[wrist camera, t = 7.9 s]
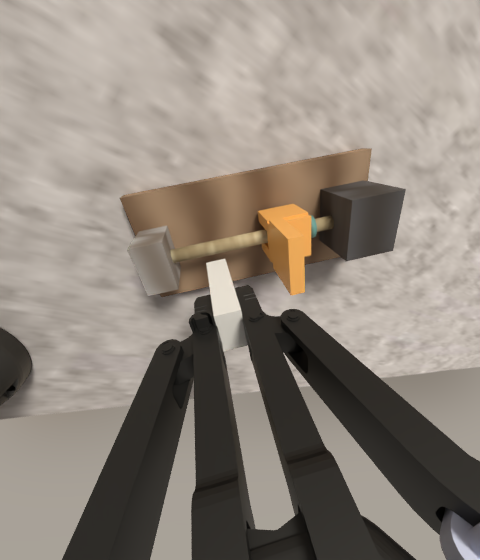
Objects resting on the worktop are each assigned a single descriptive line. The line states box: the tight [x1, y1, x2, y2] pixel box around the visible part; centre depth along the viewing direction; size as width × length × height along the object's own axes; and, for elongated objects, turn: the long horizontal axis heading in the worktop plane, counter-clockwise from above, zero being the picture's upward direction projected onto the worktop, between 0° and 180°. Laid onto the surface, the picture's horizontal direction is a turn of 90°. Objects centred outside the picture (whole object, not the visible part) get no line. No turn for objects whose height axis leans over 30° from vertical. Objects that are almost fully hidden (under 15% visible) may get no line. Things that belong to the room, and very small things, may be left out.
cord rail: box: [120, 149, 406, 297], centre depth 24 cm, size 26×12×8 cm, turn 99°
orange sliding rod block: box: [258, 204, 311, 295], centre depth 22 cm, size 4×5×10 cm
